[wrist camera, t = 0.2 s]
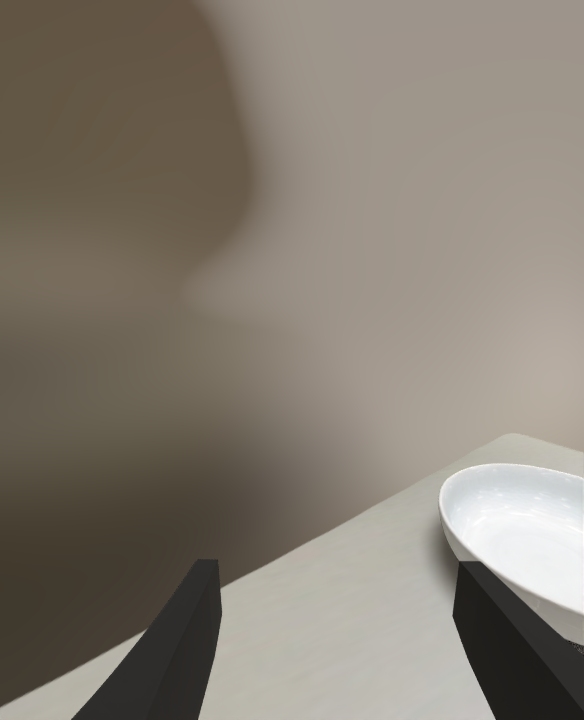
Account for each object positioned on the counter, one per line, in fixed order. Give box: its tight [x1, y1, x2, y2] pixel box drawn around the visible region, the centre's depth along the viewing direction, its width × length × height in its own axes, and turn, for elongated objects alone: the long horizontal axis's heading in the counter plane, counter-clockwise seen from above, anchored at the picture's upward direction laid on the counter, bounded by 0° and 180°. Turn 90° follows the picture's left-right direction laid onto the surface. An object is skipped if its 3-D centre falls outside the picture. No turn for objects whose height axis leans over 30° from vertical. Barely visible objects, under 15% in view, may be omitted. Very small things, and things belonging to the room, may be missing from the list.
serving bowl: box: [438, 464, 584, 646], centre depth 32 cm, size 21×21×7 cm
